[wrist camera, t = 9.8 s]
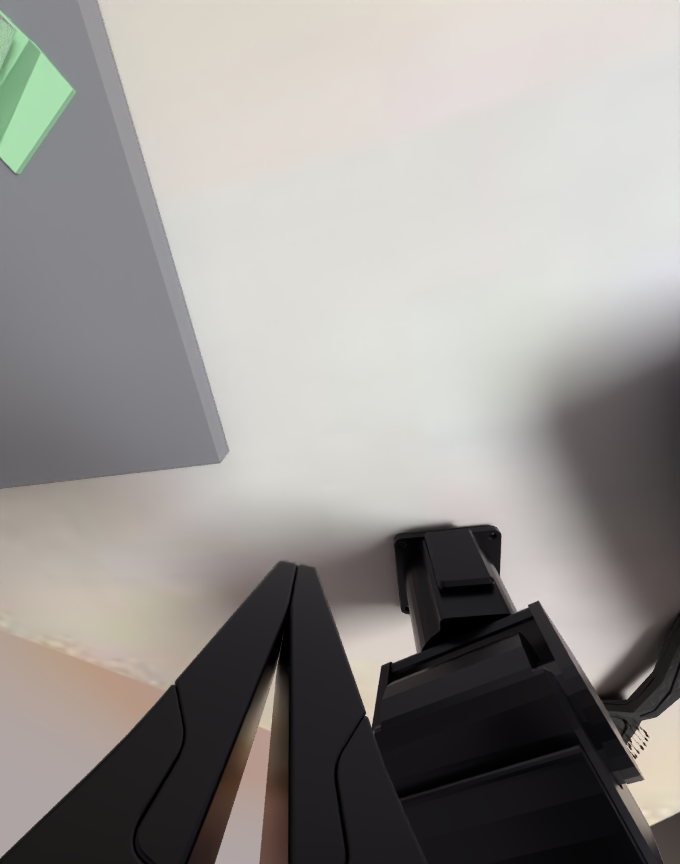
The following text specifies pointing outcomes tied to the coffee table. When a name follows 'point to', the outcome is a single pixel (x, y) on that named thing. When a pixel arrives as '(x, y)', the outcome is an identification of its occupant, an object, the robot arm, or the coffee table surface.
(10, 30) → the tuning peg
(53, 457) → the grey flat panel
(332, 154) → the coffee table surface
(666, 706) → the hairbrush
